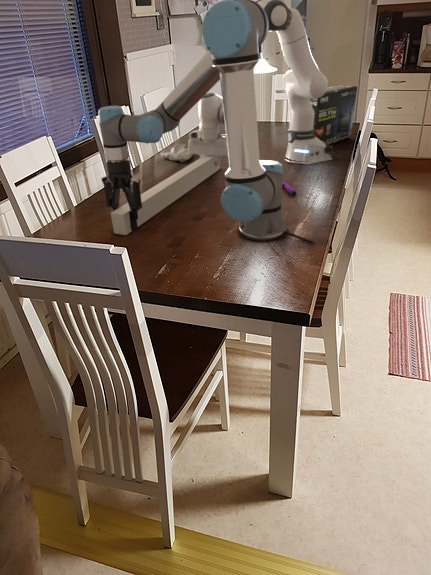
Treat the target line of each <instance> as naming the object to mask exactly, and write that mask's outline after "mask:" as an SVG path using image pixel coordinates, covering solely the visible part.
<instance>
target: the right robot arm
mask: <svg viewBox="0 0 431 575" xmlns="http://www.w3.org/2000/svg"><path fill="white" fill-rule="evenodd" d="M255 2H257V3H258V4H260V5H261V6H262V8H263V9H264V10H265V12H266V14H267V17H268V23H269V28H268V32H276V33H277V36H278V40H279V43H280V47H281V52H282V55H283V59H284V62H285V64H286V65H287V66H288V67H289V70H288V71H286V72H285V73H284V75H283V76H282V80H281V87H282V89H283V90H284V93H285V95H286V98H287V102H288V109H289V124H288V125H289V127H288V130H287V147H286V152H285V155H284V161H285V162H287V163H290V164H291V163H292V164H299V165H301V164H302V165H314V164H318V163H323V162H326V161H327V162H328V161H331V160H333V157H332V158H329V159H324V160H319V161H314V162H311V161H308V162H310V163H305V162H295V161H289V160H287V159H285V157H286V158H288V159H291V160H296V161H305V160H309V159H314V158H318V157H322V156H327V155H328V154H331V153H332V152H335V153H336V154H337V156H338V155H340V152H339V151H338V150H337V149H334V148H333V147H334V146H333V144H331V145H327V146H326V145H325V144H324V143H323V142H322V141H321V140H320V139H318V138H317V137H316V134H317V135H320V134H321V131H320V130H315V129H314V128H313V127H314V109H313V108H312V106H311V103H310V99H316V98H320V97H322V96H323V95H324V94H325V92H326V90H327V88H328V87H329V86H328V79H327V77H326V76H325V75H324V74H323V73H322V71H321V70H320V68H319V67H318V65H317V63H316V61H315V59H314V57H313V55H312V51H311V48H310V44H309V39H308V35H307V31H306V27H305V24H304V20H303V18H302V15H301V13H300V11H299V10H298V9H297V8H294V7H288V5H287V4H286V3H285V2H284V1H282V0H256V1H255ZM197 104H198V107H197V111H198V113H197V114H198V119H199V124H198V128H197V129H196V130H193V131H190V133H189V134H188V137H189V139H188V143H187V144H188V145H187V147H188V150H189V153H190V154H194V155H199V159H200V158H201V157H203V156H205V155H210V156H217V158H218V160H217V161H216V162H215V166H219V161H220V162H221V159H222V157H223V158H228V151H227V141H226V134H222V133H220V125H221V124H223V125H224V127H225V122H224V112H223V102H222V96H220V95H218V94H217V93H216V92H207V93H206V94H205V95H204V96H203V97H202V98H201V99H200V100H199V101H198V103H197ZM331 156H332V155H331ZM331 156H329V157H331Z"/></svg>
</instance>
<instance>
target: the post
mask: <svg viewBox="0 0 431 575" xmlns="http://www.w3.org/2000/svg"><path fill="white" fill-rule="evenodd" d="M217 160H218V158H217V156H210V155H204V156H203V157H201V158H200V157H199V158H198V159H196V160H195V161H193V162H191V163H190V164H188V165H186V166H185V167H184V168H182V169H180V170H179V171H176V172H175V173H174V174H172V175H170V176H169V177H167V178H166V179H163V180H162V181H160V182H159V183H157V184H155V185H154V186H152V187H151V188H149V189H147V190H146V191H144V192H143V193H140V194H141V202H142V208H141V209H139V210H138V211H137V213H138V219H137V226H138V227H137V228H139V227H140V226H141V225H143V224H144V223H146V222H147V221H149V220H150V219H151V218H153V217H154V216H156V215H157V214H158V213H160V212H161V211H162V210H164V209H166V208H167V207H168V206H170V205H171V204H172V203H174V202H175V201H177V200H178V199H180V198H181V197H182V196H184V195H185V194H187V193H188V192H189V191H191V190H193V189H194V188H195V187H197V186H198V185H200V184H201V183H203V182H204V181H205V180H206V179H208V178H209V177H210V176H212V175H214V174H215V173H216V172H217V171H219V170H221V160H220V161H219V166H215V162H216V161H217ZM119 207H120V208H119ZM119 207H118V209H116V210H115V211H113V210H112V211H111V212H110V216H111V217H110V218H111V223H112V230H113V234H116V235H122V236H127V235H129V234H130V233H131V232H133V231H134V230H131V224H130V217H129V212H130V211H131V210H130V207H129V204H128V202H126V203H124V204H123V205H120V206H119Z"/></svg>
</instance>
